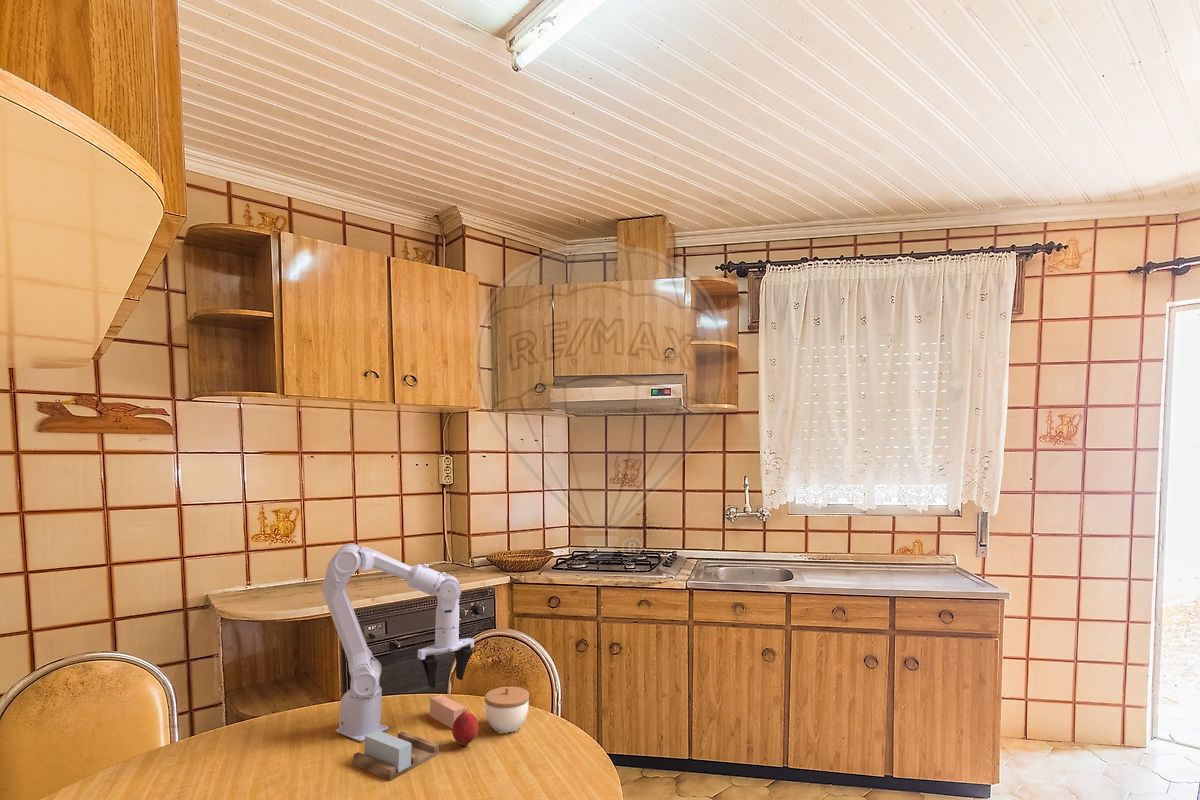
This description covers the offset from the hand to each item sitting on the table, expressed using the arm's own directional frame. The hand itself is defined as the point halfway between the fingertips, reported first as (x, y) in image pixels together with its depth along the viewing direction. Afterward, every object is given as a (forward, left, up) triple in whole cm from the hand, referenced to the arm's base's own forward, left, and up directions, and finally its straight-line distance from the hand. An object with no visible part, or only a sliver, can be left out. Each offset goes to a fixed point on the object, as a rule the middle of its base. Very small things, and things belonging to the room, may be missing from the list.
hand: (445, 682), depth 148 cm
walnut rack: (+5, -18, -10) cm, 21 cm away
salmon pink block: (0, +1, -10) cm, 10 cm away
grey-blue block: (+5, -21, -9) cm, 23 cm away
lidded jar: (+15, +6, -10) cm, 19 cm away
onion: (+13, -6, -10) cm, 17 cm away
